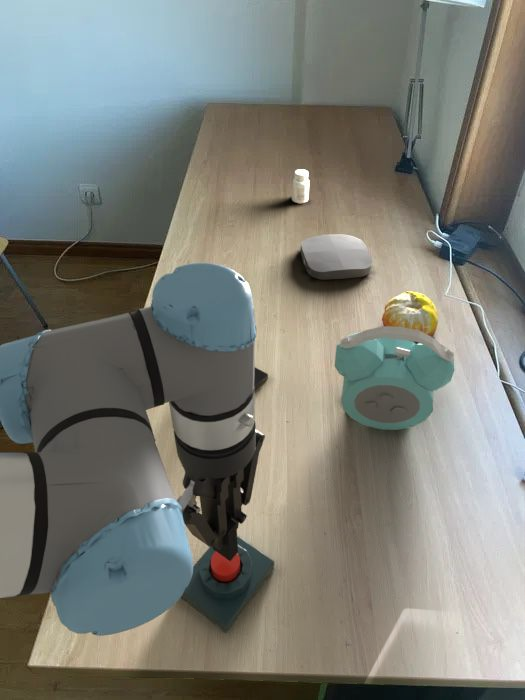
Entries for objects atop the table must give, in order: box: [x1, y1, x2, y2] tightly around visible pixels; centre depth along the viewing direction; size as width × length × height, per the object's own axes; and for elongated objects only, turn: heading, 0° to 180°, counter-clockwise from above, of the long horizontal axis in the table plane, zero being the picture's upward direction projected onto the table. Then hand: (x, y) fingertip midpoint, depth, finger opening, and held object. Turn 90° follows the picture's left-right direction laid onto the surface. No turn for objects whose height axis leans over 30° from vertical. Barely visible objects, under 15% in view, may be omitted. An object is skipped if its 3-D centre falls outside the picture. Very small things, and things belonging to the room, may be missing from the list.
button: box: [211, 552, 240, 582], centre depth 70 cm, size 4×4×2 cm
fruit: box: [381, 291, 439, 344], centre depth 109 cm, size 11×10×8 cm
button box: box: [181, 535, 275, 634], centre depth 71 cm, size 10×8×4 cm
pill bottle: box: [291, 168, 310, 204], centre depth 147 cm, size 4×4×8 cm
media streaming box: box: [300, 233, 373, 280], centre depth 127 cm, size 15×15×3 cm
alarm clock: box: [334, 325, 455, 431], centre depth 87 cm, size 17×10×20 cm, turn 80°
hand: (225, 550), depth 67 cm, fingers closed
